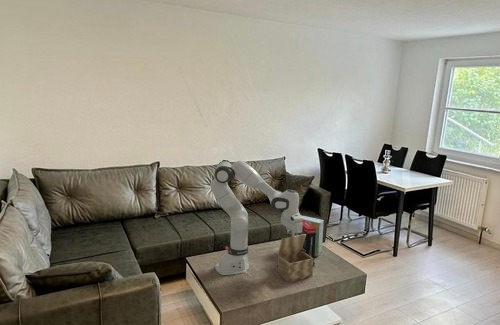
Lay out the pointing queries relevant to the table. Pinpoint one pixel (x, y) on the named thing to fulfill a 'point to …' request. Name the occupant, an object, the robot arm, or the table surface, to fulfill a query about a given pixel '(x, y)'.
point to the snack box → (319, 233)
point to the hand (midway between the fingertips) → (290, 234)
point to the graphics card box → (308, 239)
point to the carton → (295, 265)
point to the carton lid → (291, 243)
